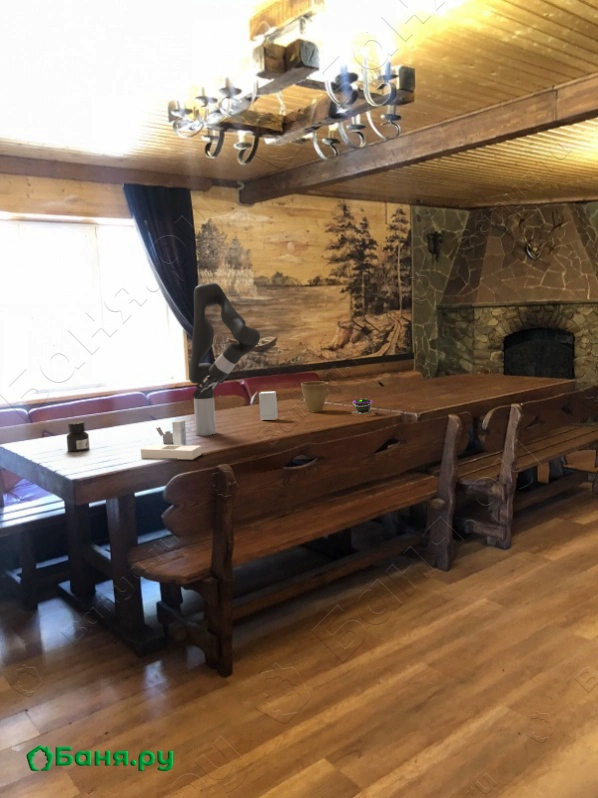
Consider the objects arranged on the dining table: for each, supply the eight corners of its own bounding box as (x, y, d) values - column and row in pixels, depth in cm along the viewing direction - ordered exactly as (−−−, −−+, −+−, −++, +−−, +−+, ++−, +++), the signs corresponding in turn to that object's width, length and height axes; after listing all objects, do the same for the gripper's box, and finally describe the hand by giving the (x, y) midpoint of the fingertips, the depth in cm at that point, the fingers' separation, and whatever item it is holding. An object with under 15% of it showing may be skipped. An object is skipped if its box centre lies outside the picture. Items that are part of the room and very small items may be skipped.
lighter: (172, 442, 281) (170, 424, 279) (173, 442, 279) (172, 424, 278) (156, 444, 277) (155, 426, 276) (158, 444, 275) (156, 426, 274)
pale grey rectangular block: (179, 447, 268) (177, 419, 266) (186, 447, 267) (185, 420, 266) (173, 450, 263) (172, 422, 262) (181, 450, 262) (180, 422, 261)
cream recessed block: (151, 452, 260) (151, 444, 259) (201, 454, 254) (201, 445, 254) (141, 457, 251) (140, 449, 251) (192, 459, 246) (191, 450, 245)
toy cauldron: (344, 415, 337) (343, 395, 335) (357, 411, 349) (357, 391, 348) (368, 417, 328) (368, 396, 327) (382, 413, 340) (381, 393, 339)
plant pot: (300, 410, 359) (299, 382, 357) (326, 408, 360) (325, 380, 358) (303, 414, 344) (302, 385, 342) (330, 412, 346) (329, 384, 343)
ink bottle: (82, 452, 264) (80, 424, 263) (63, 452, 266) (60, 424, 264) (93, 447, 274) (91, 420, 272) (75, 447, 275) (72, 420, 274)
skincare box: (278, 419, 331) (277, 391, 329) (275, 421, 325) (274, 392, 323) (262, 419, 333) (261, 391, 331) (259, 421, 327) (258, 392, 325)
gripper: (224, 359, 261) (201, 387, 266) (208, 361, 248) (184, 390, 253) (236, 371, 260) (213, 399, 265) (221, 374, 247) (197, 403, 252)
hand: (199, 395), depth 259 cm, fingers open, 8 cm apart
